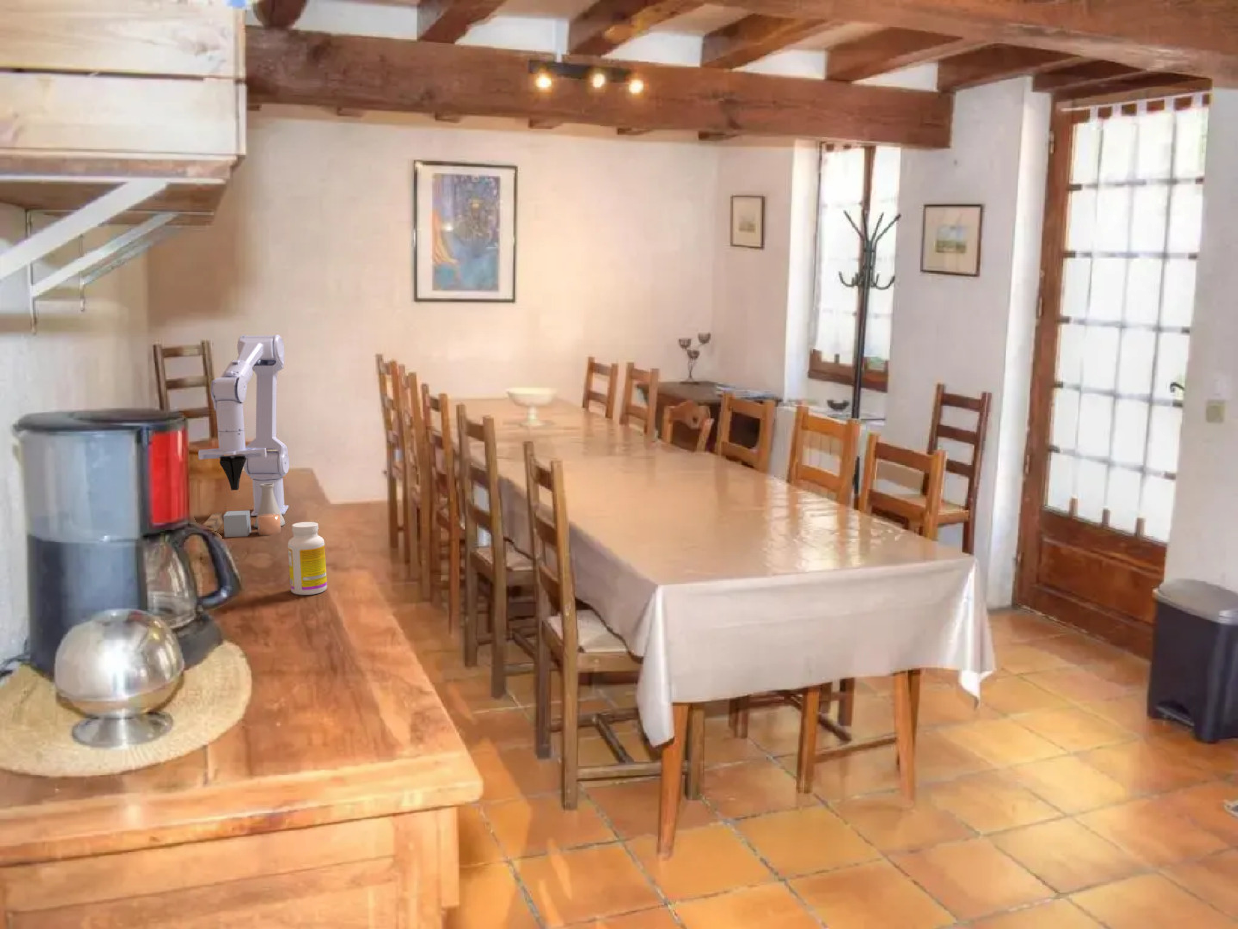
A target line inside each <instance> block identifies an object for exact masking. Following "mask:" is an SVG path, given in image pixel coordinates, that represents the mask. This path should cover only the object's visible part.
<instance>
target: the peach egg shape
mask: <svg viewBox="0 0 1238 929" xmlns="http://www.w3.org/2000/svg"><path fill="white" fill-rule="evenodd" d="M256 518H257V520H258V527H257V532H258V535H260V536H273V535H278V534H281V533H282V530H281V529H282V526H281V524H280V515H279V514H262V515H259V516H256Z"/></svg>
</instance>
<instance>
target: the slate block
mask: <svg viewBox="0 0 1238 929" xmlns="http://www.w3.org/2000/svg"><path fill="white" fill-rule="evenodd" d="M222 519H223V530H224V538H230V537H231V538H233V537H234V538H235V537H248V536H250V533H251V532H252V527H251V525H252V524H251V511H250V510H231V511H230V510H229V511H226V512H225V513H224V514H223V515H222Z"/></svg>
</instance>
